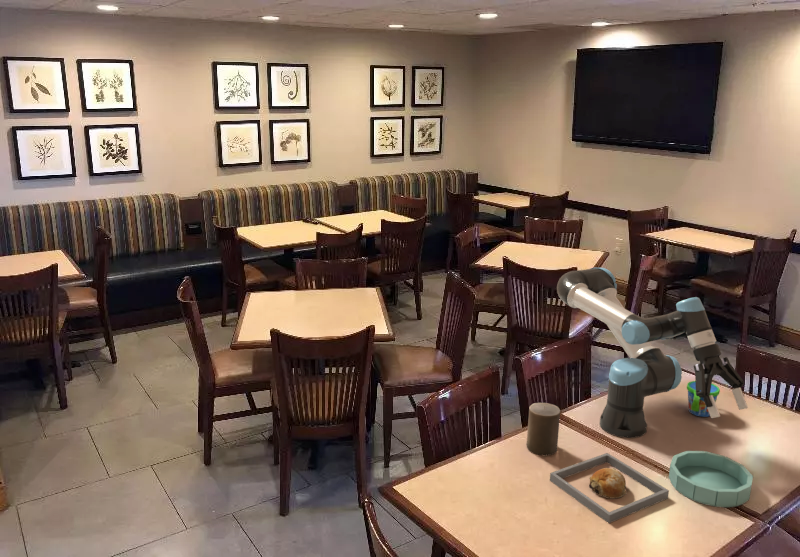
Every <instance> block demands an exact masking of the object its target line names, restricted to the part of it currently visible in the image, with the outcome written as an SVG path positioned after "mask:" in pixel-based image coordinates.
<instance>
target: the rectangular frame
mask: <svg viewBox="0 0 800 557" xmlns="http://www.w3.org/2000/svg"><path fill="white" fill-rule="evenodd" d="M605 463H607V464H608V465H610V466H612V467H613V468H614V469H616V470H617V471H619V472H620V473H622V474H623V475H626V476H628V477H629V478H631V479H633V480H634V481H635V482H637V483H639V484H640V485H642V486H643V487H645V488H647V489H649V491H652V492H653V493H652V494H650V495H647V496H645V497H643V498H640V499H638V500H635V501H633V502H630V503H628V504H626V505H624V506H621V507H618V508H616V509H613V510H610V511H609V510H608V509H606V508H604V507H603V506H602V505H600V504H599V503H597V502H596V501H594V500H593V499H591V497H589V496H588V495H586V494H584V493H583V492H582V491H580V490H579V489H578V488H576V487H575V486H574V485H572V484H570V483H569V482H568V481H566V480H565V478H567V477H570V476H573V475H576V474H579V473H581V472H584V471H587V470H590V469H592V468H595V467H598V466H600V465H603V464H605ZM549 474H550V475H549V482H551V483H552V482H553V484H554V485H555V486H556V487H558V488H559V487H560V488H559V489H561V491H563V492H565V493H566V494H568V495H569V496H571V498H573V499H574V498H575V500H576V501H577V502H579V503H580V504H581V505H582V506H584V507H585V508H587V509H588V510H590V511H591V512H593V513H594V514H595V515H596V516H598V517H599V518H601V519H602V520H603V521H605V523H607V522H608V523H607V524H611V523H613V522H616V521H618V520H620V519H622V518H625V517H627V516H629V515H630V516H631V514H634V513H636V512H639V511H641V510H643V509H646V508H648V507H651V506H653V505H655V504H658V503H659V502H662V501H665V500H667V499H669V492H670V490H669V489H668V488H666V487H664V486H662V485H661V484H659V483H658V482H656V481H655V480H653V479H651V478H649V477H648V476H646V475H645V474H643V473H641V472H639V471H638V470H636V469H634V468H633V467H631V466H629V465H628V464H626V463H624V462H623V461H621V460H620V459H618V458H616V457H615V456H613V455H611V454H610V453H608V452H605V453H603V454H601V455H597V456H595V457H592V458H589V459H586V460H583V461H581V462H578V463H574V464H572V465H569V466H566V467H563V468H560V469H558V470H555V471H553V472H550V473H549Z"/></svg>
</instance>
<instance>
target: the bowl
mask: <svg viewBox="0 0 800 557" xmlns="http://www.w3.org/2000/svg"><path fill="white" fill-rule="evenodd" d="M753 478H754V475H753V474H752V473H751V472H750V471H749V470H748V469H747V468H746V466H745V465H743V464H742V463H739V462H738V461H736V460H734V459H733V458H730V457H728V456H726V455H723V454H719V453H714V452H710V451H706V450H685V451H683V452H680V453H677V454H675V455H673V456H672V458H671V461H670V466H669V472H668V480H669V481H670V483H671V486H673V488H674V489H675V490H676V491H677V492H679V493H680V495H682V496H684V497H685V498H688V499H689V500H691V501H694V502H696V503H699V504H703V505H706V506H711V507H717V508H735V507H738V506H742V505H744V504H746V503H747V501H749V500H750V497H751V491H752V484H753Z"/></svg>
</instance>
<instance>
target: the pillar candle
mask: <svg viewBox="0 0 800 557" xmlns="http://www.w3.org/2000/svg"><path fill="white" fill-rule="evenodd" d="M560 417H561V409H560V408H559V406H557V405H555V404H552V403H550V402H549V403H547V402H535V403H532V404H531V405H529V409H528V421H527V422H528V423H527V431H526V432H527V434H526V435H527V436H526V448H527V450H528V451H529V452H531V453H532V452H533V454H535V455H537V456H538V455H539V456H546V455H547V456H550V455H551V456H552V455H554V454H556V453H557V451H558V444H559V443H558V441H559V431H560V430H559V429H560V421H561V420H560Z"/></svg>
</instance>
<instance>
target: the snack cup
mask: <svg viewBox="0 0 800 557" xmlns="http://www.w3.org/2000/svg"><path fill="white" fill-rule="evenodd" d="M686 390H687V401H688V411H689V413H691V414H692V415H694V416H696V417H701V418H702V417H703V418H705V417H711V416H710V413H709V411H708V408H707V407H706V405H705V402H704V399H703V397H701V398H700V397H699V396H697V395H696V383H695V380H692V381H689V382H687V384H686ZM700 391H701V390H700ZM720 392H721V390H720V387H718V386H717V385H716V384H715V383H712V384H711V391H710V395H713V398H714V401H715V403H716V402H717V397H718V396H719V395H720ZM710 395H709V396H710Z"/></svg>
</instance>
